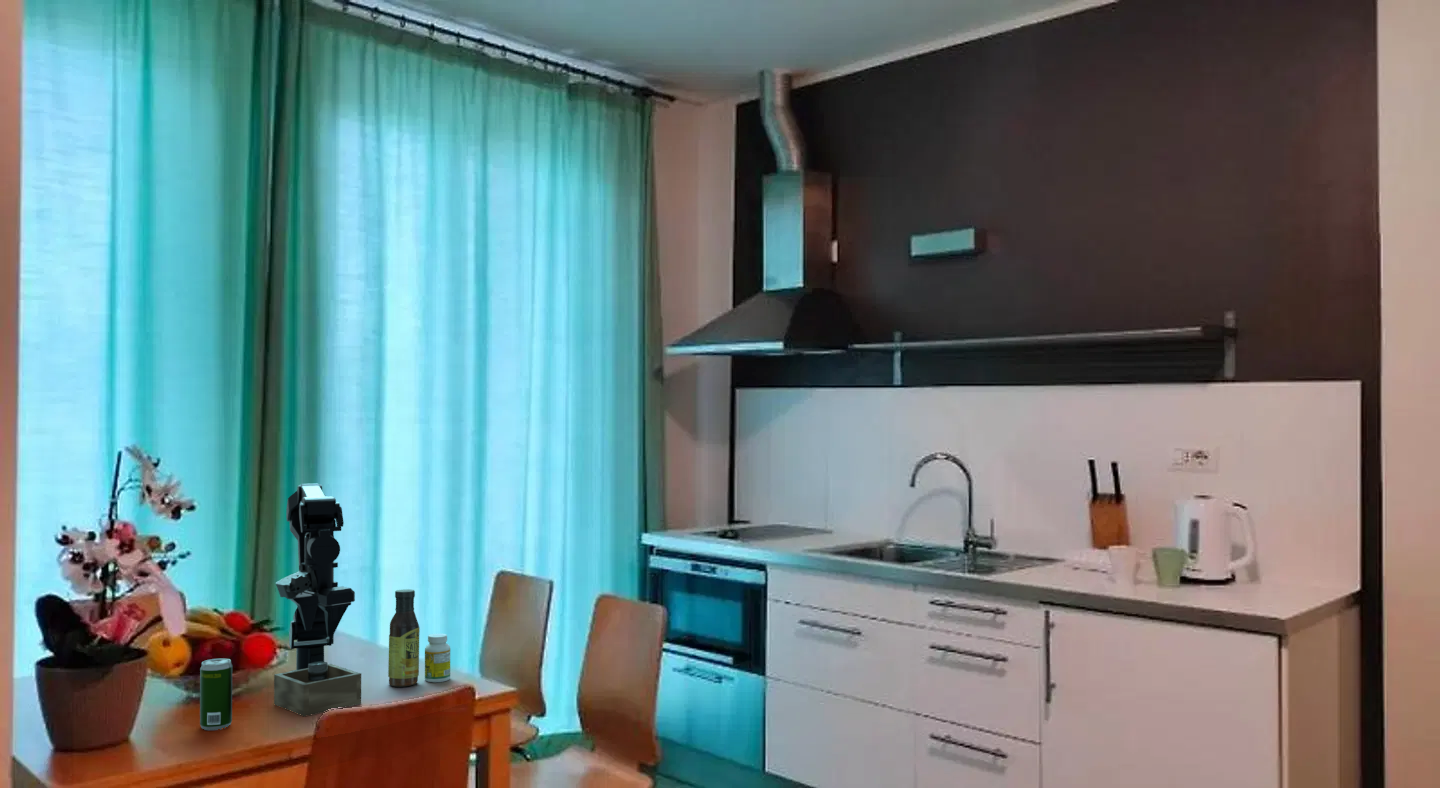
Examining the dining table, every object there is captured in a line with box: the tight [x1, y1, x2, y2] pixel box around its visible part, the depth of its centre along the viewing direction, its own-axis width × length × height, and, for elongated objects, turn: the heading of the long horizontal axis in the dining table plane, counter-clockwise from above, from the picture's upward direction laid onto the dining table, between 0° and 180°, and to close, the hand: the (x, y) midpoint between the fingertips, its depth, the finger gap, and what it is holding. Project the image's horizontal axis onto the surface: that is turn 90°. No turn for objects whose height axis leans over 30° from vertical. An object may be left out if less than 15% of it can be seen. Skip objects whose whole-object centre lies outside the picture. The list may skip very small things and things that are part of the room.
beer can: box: [199, 658, 233, 731], centre depth 203 cm, size 5×5×12 cm
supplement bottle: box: [424, 633, 451, 683], centre depth 238 cm, size 5×5×10 cm
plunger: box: [308, 661, 329, 682], centre depth 218 cm, size 9×9×7 cm
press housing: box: [273, 663, 362, 717], centre depth 218 cm, size 12×12×6 cm
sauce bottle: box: [387, 588, 421, 688], centre depth 234 cm, size 6×6×20 cm
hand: (318, 633), depth 228 cm, fingers open, 9 cm apart
